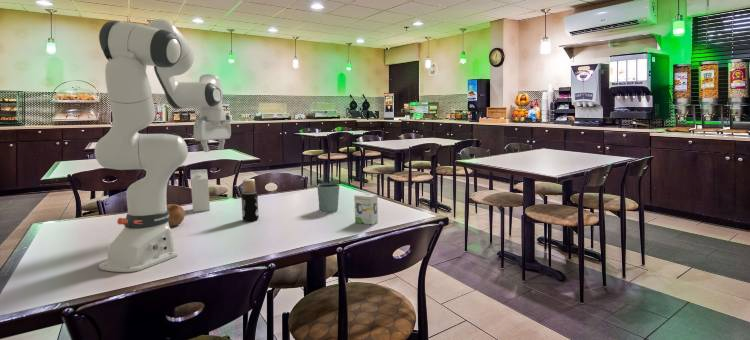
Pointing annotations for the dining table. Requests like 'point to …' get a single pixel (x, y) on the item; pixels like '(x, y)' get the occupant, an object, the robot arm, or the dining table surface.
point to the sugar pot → (249, 186)
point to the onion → (175, 214)
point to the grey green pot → (328, 197)
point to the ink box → (366, 208)
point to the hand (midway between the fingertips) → (213, 151)
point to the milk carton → (200, 190)
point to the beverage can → (250, 206)
